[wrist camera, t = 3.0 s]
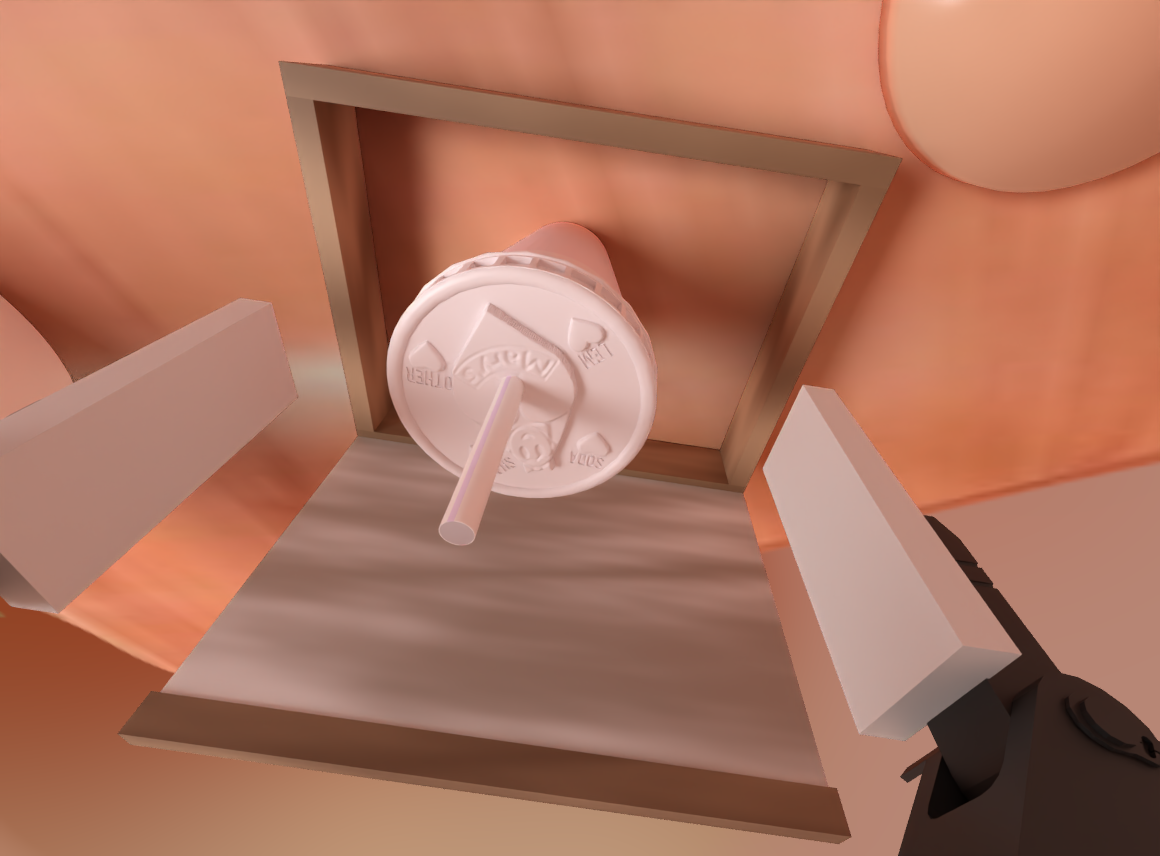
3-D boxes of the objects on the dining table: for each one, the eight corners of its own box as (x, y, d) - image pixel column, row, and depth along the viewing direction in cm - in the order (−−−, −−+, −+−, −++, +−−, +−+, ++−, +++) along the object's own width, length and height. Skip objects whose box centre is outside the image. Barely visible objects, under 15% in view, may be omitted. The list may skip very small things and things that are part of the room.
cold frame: (318, 63, 15) (-805, -29, 3) (871, 150, 15) (1722, 363, 3) (382, 437, 24) (154, 764, 13) (724, 488, 25) (814, 857, 13)
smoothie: (634, 164, 16) (656, 343, 5) (653, 333, 20) (690, 658, 8) (462, 200, 17) (153, 412, 6) (510, 353, 21) (375, 664, 10)
